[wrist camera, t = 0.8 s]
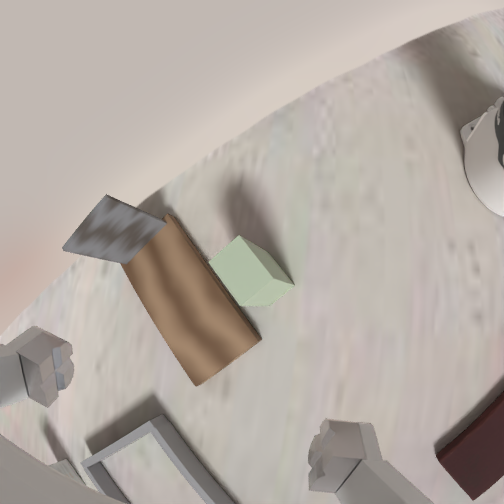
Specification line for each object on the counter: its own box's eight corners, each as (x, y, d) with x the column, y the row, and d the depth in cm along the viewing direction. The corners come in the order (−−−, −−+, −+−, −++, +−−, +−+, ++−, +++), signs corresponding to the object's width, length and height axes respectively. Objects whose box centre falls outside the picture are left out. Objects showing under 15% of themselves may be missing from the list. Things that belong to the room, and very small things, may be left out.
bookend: (174, 216, 51) (109, 185, 36) (262, 339, 44) (214, 355, 29) (127, 263, 53) (57, 248, 38) (201, 383, 45) (137, 411, 30)
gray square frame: (164, 413, 47) (150, 419, 43) (253, 523, 39) (245, 535, 35) (92, 457, 50) (79, 462, 46) (163, 547, 42) (153, 556, 38)
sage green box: (268, 252, 46) (239, 234, 34) (294, 285, 44) (273, 278, 32) (244, 273, 46) (208, 262, 35) (269, 306, 44) (240, 306, 33)
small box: (59, 465, 53) (28, 476, 43) (67, 458, 52) (34, 469, 42) (78, 492, 50) (48, 506, 40) (87, 486, 50) (55, 501, 40)
